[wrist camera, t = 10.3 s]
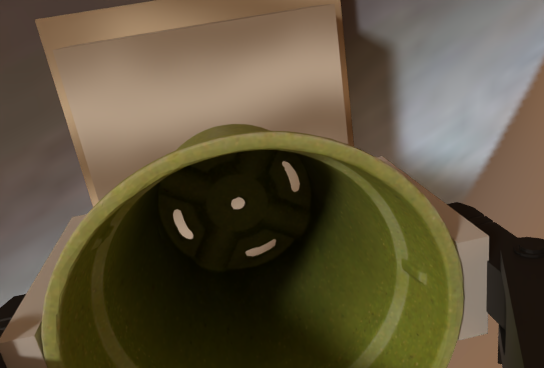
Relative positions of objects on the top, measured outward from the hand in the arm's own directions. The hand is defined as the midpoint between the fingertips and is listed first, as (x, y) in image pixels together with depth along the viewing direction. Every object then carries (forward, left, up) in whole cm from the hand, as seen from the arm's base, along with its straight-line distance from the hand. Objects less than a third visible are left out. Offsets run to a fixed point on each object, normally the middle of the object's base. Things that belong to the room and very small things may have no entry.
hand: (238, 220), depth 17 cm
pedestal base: (0, 0, -13) cm, 13 cm away
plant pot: (0, 0, -2) cm, 2 cm away
